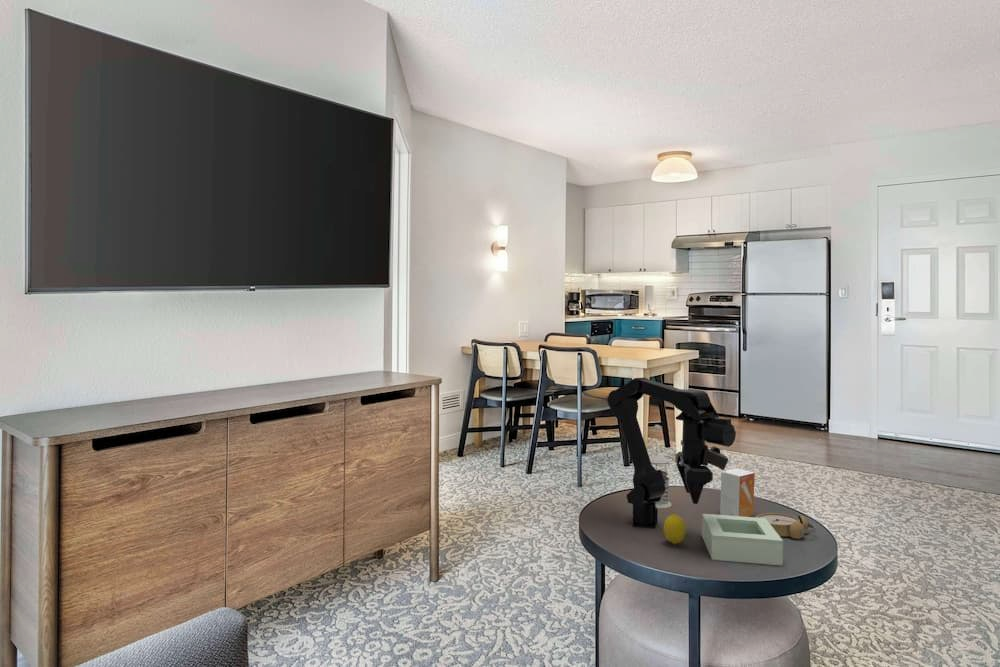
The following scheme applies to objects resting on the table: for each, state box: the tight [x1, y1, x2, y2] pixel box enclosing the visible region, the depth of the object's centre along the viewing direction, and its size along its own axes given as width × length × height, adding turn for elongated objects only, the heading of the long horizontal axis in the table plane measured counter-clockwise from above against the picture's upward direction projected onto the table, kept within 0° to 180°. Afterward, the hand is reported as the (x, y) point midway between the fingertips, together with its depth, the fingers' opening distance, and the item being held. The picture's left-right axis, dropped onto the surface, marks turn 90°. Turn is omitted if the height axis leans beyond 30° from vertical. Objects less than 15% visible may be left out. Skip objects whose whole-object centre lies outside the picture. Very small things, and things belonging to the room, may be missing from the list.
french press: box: [649, 424, 672, 509], centre depth 185 cm, size 10×12×25 cm
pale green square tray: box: [701, 513, 784, 567], centre depth 148 cm, size 16×16×6 cm
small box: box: [719, 467, 755, 517], centre depth 175 cm, size 8×6×13 cm
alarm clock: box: [755, 512, 816, 540], centre depth 161 cm, size 11×5×15 cm
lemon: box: [663, 513, 687, 546], centre depth 151 cm, size 6×6×8 cm
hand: (691, 498), depth 153 cm, fingers open, 9 cm apart
